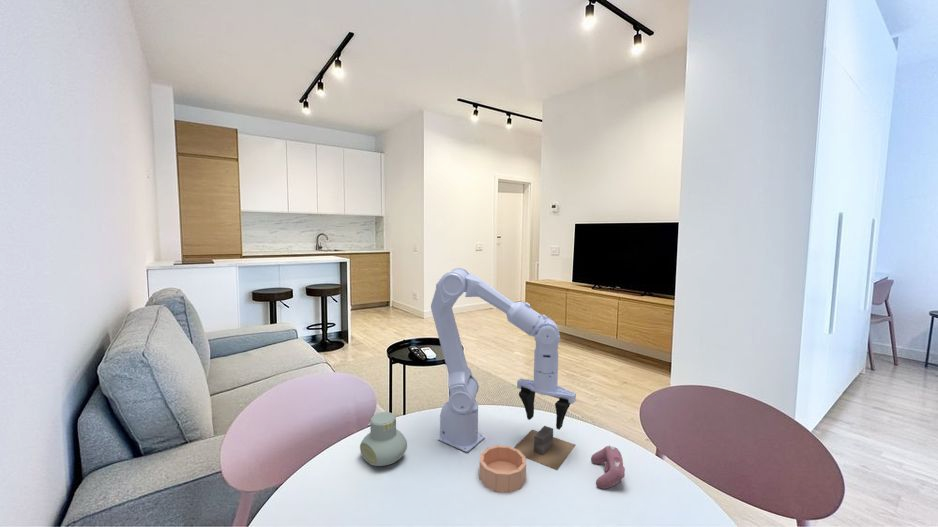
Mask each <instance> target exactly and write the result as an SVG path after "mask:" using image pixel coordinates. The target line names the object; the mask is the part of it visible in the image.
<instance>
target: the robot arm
mask: <svg viewBox="0 0 938 527" xmlns="http://www.w3.org/2000/svg"><path fill="white" fill-rule="evenodd" d="M464 293H465V295H464V297H465V298H475V297H476V298H477V297H478V298H480V299H482V301H483V300H484V301H485V302H486V303H487V304H489V305H491V306H493V307H495V308H496V309H498V310H500V311H501V312H503V313H504V314H505V315H506V318H507V322H509V323H510V324H512V325H513V326H515V327H516V328H518V329H520V330H521V331H522V332H523V333H526V334H527V335H528V336H531V337H533V338H534V341H535V347H534V352H533V354H534V356H533V357H534V358H533V379H524V378H519V379H518V380H517V381H516V382H517V383H516V388H517V389H519V390H520V391H519V392H518V396H519V398H520V400H521V402H522V404H523V407H524V409H525V414H526V418H527V420H529V421H530V420H531V419H533V418H534V414H535V397H536V394H538V395H542V396H548V397H552V398H556V399H558V400H557V401H556V402H555V403H554V407H555V413H556V419H555V420H556V422H555V423H556V424H555V426H556V428H555V429H556V430H558V431H559V430H561V429H562V428H563V424H564V420H565V416H566V414H567V412H568V409H569V408H570V405H571V404H572V405H573V404H574V403H575V402H576V400H577V399H576V396H577V395H576V394H577V393H576V392H575V391H574V392H573V391H570V390H568V389H566V388H564V387H562V386H560V385H559V384H558V380H559V374H558V373H559V351H558V349H559V343H560V341H561V336H560V330H559V327H558V325H557V323H556V322H555V321H554V320H553V319H552V318H550V317H547V315H546V314H541V313H539V312H538V311H536V310H534V309H533V308H531V304H530V303H528V302H527V301H526V302H524V301H512V300H511V299H509V298H508V297H506V296H505V295H503V294H502V293H501V292H499V291H498V290H497V289H495V288H494V287H493V286H491V285H490V284H488V283H487V282H486V281H484V280H483V279H481V278H480V277H479V276H477V275H476V274H474V273H471V272H470V273H469V271H467V270H466V269H465V268H461V267H456V268H454V269H452V270H450V271H449V272H446V273H445V274H443V275H442V276H441V278H440V279H439V280H438V281H437V283H436V284H435V291H434V294H433V297H432V300H431V304H430V308H431V309H430V310H431V314H432V317H433V322H434V325H435V328H436V331H437V336H438V339H439V344H440V348H441V352H442V355H443V358H444V362H445V366H446V370H447V373H448V391H449V396H448V401H447V402H445V403H444V404H443V405H442V407H441V410H440V415H439V419H440V420H439V436H438V437H437V440H438V441H440V442H443V443H445V444H447V445H449V446H452V447H453V448H456V449H458V450H460V451H463V452H465V453H469V452H470V451H471V450H472V449H474V447H476V446H477V445H478V444H479V443H481V442H482V441H483V440H484V439H485V437H486V436H485V435H483V434H480V433H479V402H478V401H477V399H476V397H477V394H478V391H479V383H478V380H477V379H476V378H475V377H474V376H473V373H472V370H471V368H470V367H469V366H468V363H467V360H466V354H465V353H464V348H463V345H462V341H461V337H460V334H459V329H458V327H457V322H456V319H455V318H456V317H455V315H454V311H453V307H454V305H455V303H456V302H457V300H458V299H459V298H460V297H461V296H462V295H463V294H464Z"/></svg>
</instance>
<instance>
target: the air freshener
mask: <svg viewBox="0 0 938 527" xmlns="http://www.w3.org/2000/svg"><path fill="white" fill-rule="evenodd" d="M369 424H370V431H369V433H367V434H366V435H365V436H364V437H363V439H362V440H361V442H360V444H359V450H360V453H361V456H362V457H363V459H365V461H366V462H367V463H368V464H369V465H372V466H374V467H375V466H376V467H384V466H385V467H386V466H388V465H391V464H394V463H396V462H397V461H399V460H400V459H401V458H403V455H404V454H406V451H407V449H408V442H407V439H406V437H405V435H404V434H403V433H402V432H401V431H400V430H398V429H397V416H396V415H395V414H394V413H392V412H389V411H387V412H385V411H383V412H378V413H375V414H374V415H373V416H372V417H371V418H370V423H369Z"/></svg>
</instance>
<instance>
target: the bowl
mask: <svg viewBox="0 0 938 527" xmlns="http://www.w3.org/2000/svg"><path fill="white" fill-rule="evenodd" d="M526 459H527V458H526V457H525V456H524V455H523V454H522V453H521V452H520V451H519V450H517V449H515V448H514V447H513V446H510V445H502V444H501V445H500V444H499V445H496V444H495V445H493V446H490V447H486V448H485V449H484V450H483V451H481V452H480V455H479V472H478V473H479V478H478V479H479V480H480V482H481V483H482V485H483V486H484V487H485V488H487V489H489V490H491V491H494V492H495V493H507V494H509V493H512V492H515V491H516V492H517V491H518V490H521V489H522V487H523V486H524V485H525V483H526V482H527V460H526Z"/></svg>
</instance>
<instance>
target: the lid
mask: <svg viewBox="0 0 938 527" xmlns="http://www.w3.org/2000/svg"><path fill="white" fill-rule="evenodd" d="M575 446H576V444H574V443H571V442H570V441H566V440H563V439H560V438H557V437H555V436H554V428H552V427H550V426H546V425H544V426H542V428H541V429H540V430H539V431H538V430H536V429H531V430H530V431H529V432H528V433H527V434H526V435H525V436H524V437H523V438H522V439H521V440H520V441H518V443H517V444H516V445H515V446H514V447H513V448H515V449H517V450H519V451H520V452H521V453H522V454H523V455H524V456H525V457H526V459H527V460H530V461H533V462H535V463H538V464H540V465H543V466H545V467H548V468H551V469H553V470H555V471H559V469H560V468H561V466H562V465H563V463H564V462H565V461H566V459H567V458H568V456H569V455H570V454H571V453H572V451H573V449H574V448H575Z"/></svg>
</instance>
